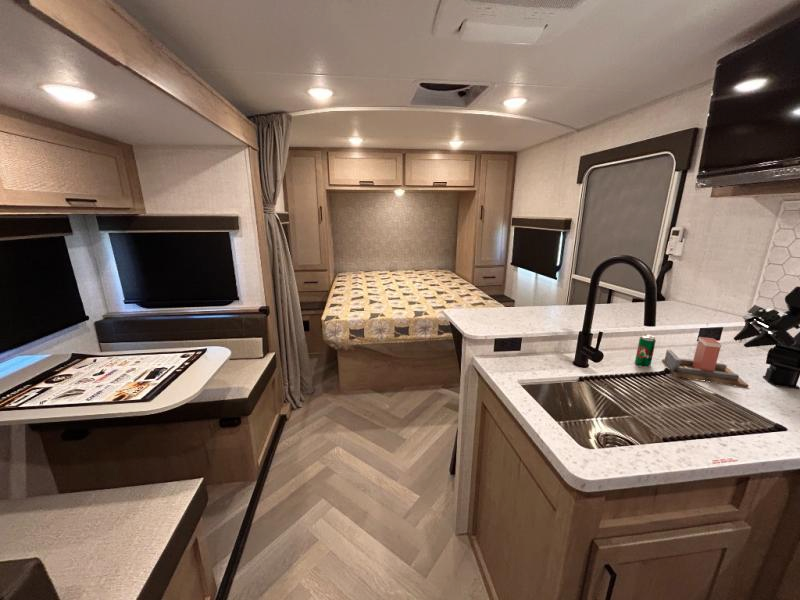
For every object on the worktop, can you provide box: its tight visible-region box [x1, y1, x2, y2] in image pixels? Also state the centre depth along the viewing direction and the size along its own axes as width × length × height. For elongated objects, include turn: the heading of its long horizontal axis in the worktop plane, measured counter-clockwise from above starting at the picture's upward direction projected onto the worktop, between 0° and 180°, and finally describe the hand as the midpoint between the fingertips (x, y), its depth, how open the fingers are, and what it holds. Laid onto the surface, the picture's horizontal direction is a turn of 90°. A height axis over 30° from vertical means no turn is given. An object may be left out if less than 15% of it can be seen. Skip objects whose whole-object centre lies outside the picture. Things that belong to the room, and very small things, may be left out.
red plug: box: [692, 336, 722, 371], centre depth 116 cm, size 4×6×12 cm
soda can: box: [634, 334, 657, 367], centre depth 124 cm, size 5×5×12 cm
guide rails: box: [664, 349, 740, 381], centre depth 117 cm, size 18×10×5 cm, turn 67°
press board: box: [661, 358, 749, 388], centre depth 118 cm, size 20×14×1 cm
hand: (739, 342), depth 111 cm, fingers open, 6 cm apart
